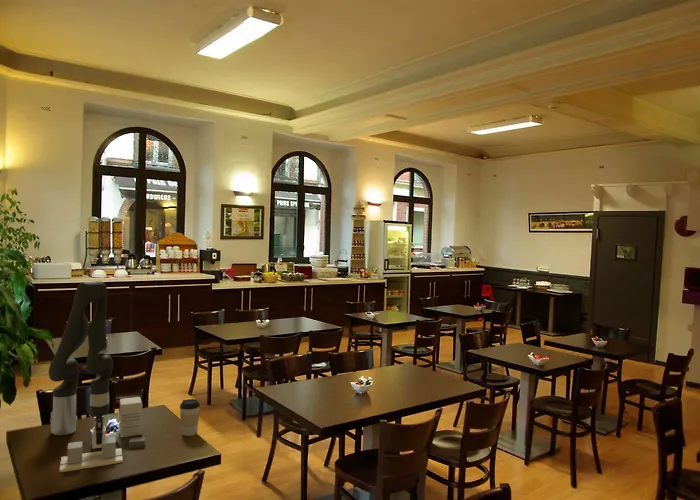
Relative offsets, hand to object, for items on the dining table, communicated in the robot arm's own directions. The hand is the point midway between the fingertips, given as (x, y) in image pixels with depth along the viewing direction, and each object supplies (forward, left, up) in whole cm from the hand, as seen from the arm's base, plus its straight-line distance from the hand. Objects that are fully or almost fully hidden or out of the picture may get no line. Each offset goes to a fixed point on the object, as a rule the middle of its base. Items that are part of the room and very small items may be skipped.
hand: (99, 441), depth 218 cm
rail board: (+7, -14, -2) cm, 16 cm away
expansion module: (0, 0, -2) cm, 2 cm away
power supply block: (+16, +3, -2) cm, 16 cm away
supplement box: (+5, +15, -2) cm, 16 cm away
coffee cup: (+31, +21, -2) cm, 37 cm away
